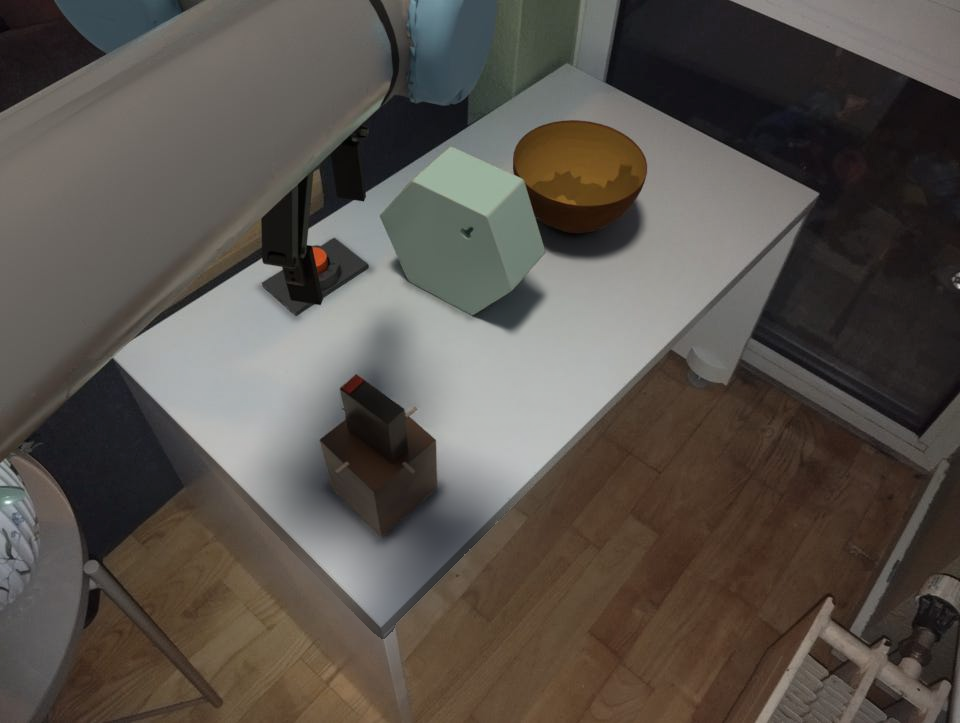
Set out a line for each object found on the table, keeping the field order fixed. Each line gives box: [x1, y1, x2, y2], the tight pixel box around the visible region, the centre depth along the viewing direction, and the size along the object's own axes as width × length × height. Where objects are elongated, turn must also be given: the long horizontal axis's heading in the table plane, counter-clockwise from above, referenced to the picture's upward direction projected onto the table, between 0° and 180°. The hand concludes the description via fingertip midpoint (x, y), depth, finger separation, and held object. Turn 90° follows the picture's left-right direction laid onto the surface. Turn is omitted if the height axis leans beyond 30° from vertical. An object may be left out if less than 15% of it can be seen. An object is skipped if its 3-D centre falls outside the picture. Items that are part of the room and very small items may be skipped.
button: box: [312, 247, 328, 275], centre depth 98 cm, size 4×4×2 cm
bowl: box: [512, 119, 648, 234], centre depth 105 cm, size 18×18×10 cm
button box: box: [261, 237, 369, 316], centre depth 99 cm, size 12×7×2 cm, turn 136°
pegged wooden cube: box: [318, 406, 438, 538], centre depth 78 cm, size 10×10×10 cm
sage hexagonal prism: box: [379, 146, 546, 316], centre depth 93 cm, size 17×8×21 cm
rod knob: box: [339, 373, 408, 464], centre depth 71 cm, size 6×2×7 cm, turn 51°
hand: (330, 245), depth 71 cm, fingers open, 13 cm apart
